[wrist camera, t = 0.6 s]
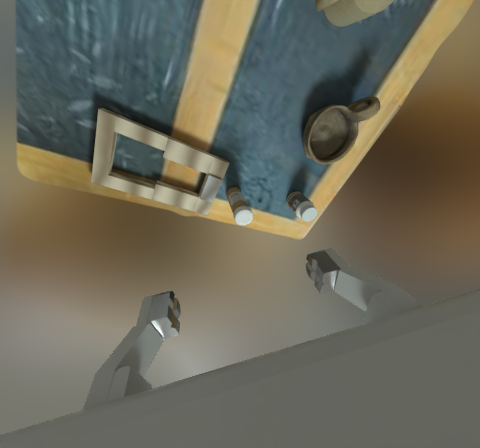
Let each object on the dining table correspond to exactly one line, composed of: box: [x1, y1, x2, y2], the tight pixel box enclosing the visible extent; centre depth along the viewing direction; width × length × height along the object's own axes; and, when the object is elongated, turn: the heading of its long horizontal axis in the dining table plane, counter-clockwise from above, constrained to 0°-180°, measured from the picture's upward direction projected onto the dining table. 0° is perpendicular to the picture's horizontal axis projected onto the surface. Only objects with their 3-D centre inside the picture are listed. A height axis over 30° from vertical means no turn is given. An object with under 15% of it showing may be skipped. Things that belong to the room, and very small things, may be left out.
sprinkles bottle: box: [226, 187, 253, 225], centre depth 50 cm, size 5×5×13 cm
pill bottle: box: [287, 192, 317, 221], centre depth 58 cm, size 6×6×10 cm
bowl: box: [303, 97, 380, 164], centre depth 47 cm, size 14×18×10 cm
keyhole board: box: [91, 108, 229, 215], centre depth 47 cm, size 28×16×3 cm, turn 64°
